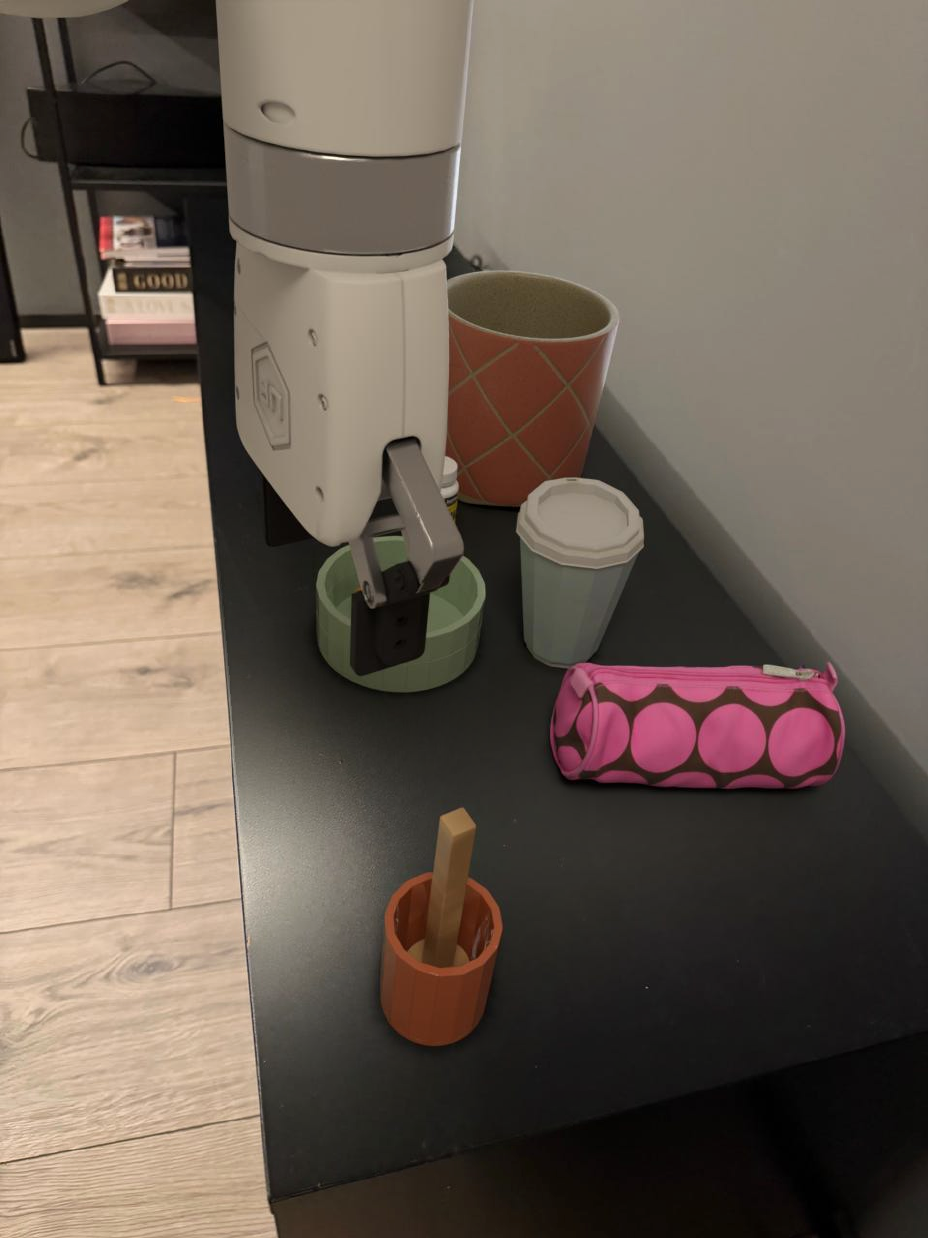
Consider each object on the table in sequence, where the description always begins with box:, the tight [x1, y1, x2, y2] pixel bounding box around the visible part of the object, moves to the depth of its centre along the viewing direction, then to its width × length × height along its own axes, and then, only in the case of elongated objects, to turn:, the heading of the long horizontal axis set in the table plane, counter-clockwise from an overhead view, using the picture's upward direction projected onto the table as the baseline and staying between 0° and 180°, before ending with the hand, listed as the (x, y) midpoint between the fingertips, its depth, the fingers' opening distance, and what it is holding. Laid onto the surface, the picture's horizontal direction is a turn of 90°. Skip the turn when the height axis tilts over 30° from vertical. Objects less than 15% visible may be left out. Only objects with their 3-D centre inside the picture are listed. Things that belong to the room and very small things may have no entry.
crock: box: [379, 871, 504, 1047], centre depth 55 cm, size 7×7×8 cm
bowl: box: [315, 535, 486, 693], centre depth 81 cm, size 14×14×6 cm
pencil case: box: [549, 661, 846, 790], centre depth 71 cm, size 21×10×10 cm, turn 97°
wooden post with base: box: [407, 807, 477, 968], centre depth 52 cm, size 4×4×16 cm
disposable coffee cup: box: [515, 477, 645, 669], centre depth 79 cm, size 11×11×15 cm
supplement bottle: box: [441, 456, 459, 523], centre depth 93 cm, size 5×5×8 cm
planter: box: [445, 270, 620, 508], centre depth 101 cm, size 19×19×20 cm
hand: (338, 596), depth 41 cm, fingers open, 9 cm apart
